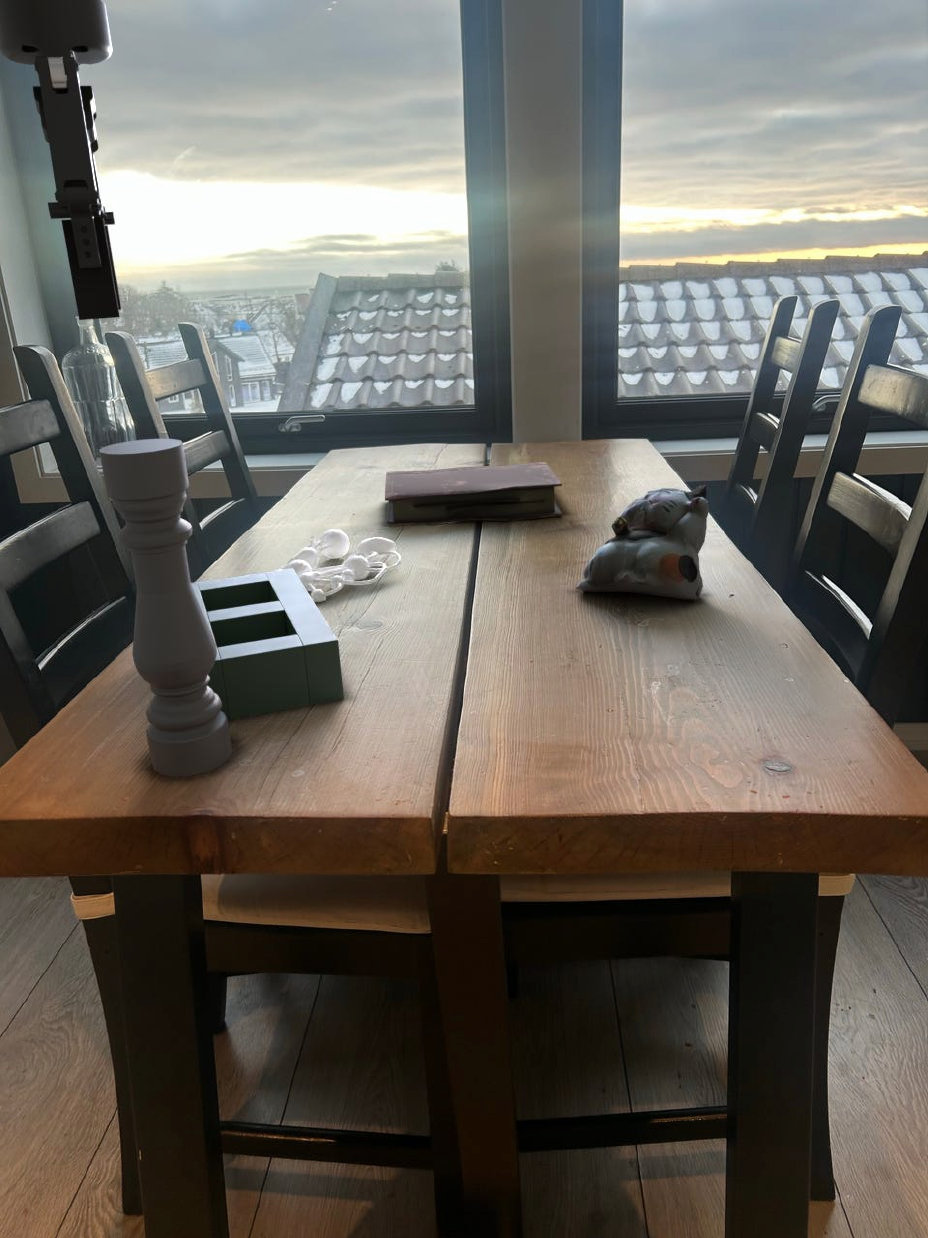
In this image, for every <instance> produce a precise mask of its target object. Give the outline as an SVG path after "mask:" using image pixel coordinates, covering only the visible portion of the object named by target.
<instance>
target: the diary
mask: <svg viewBox="0 0 928 1238" xmlns="http://www.w3.org/2000/svg"><path fill="white" fill-rule="evenodd" d="M384 484H385V486H384V501H386V502H388V503H387V517H386V518H387V519H386V524H387V525H391V526H420V525H421V526H422V525H424V526H425V525H426V526H427V525H438V524H439V525H440V524H449V523H458V522H467V521H501V522H502V521H504V522H518V521H526V520H527V521H528V520H535V519H543V518H552V517H562V516H563V513H562V511H561V510H560V507H559V506H558V505H557V503H556V501H555V500H556V499H555V487H562V486H563V484H562V483H561V481H560V479H559V477H558V476H557V475H556V473H555V471H554V470H553V469H552V468H551V467H550V466H549V465H548V463H547V462H546V461H536V462H527V463H516V464H506V465H504V464H503V465H483V466H480V465H479V466H477V465H476V466H459V467H450V468H439V469H438V468H437V469H428V470H398V471H386V474H385V483H384Z"/></svg>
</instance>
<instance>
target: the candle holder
mask: <svg viewBox="0 0 928 1238" xmlns="http://www.w3.org/2000/svg"><path fill="white" fill-rule="evenodd" d="M98 452H99V458H100V463H101V468H102V474H103V480H104V485H105V492H106V495H107V497H108V499H109V498H110V499H111V500H112V506H113V508H114V509H115V510H116V511H117V512H118V514H119V515H120V517H121V520H123V521H125V525H124V526H123V527H122V528H121V529H120V530H119V532H118V533H117V539H118V541H119V544H120V545H121V546H122V547H125V548H126V549H127V552H129V553H130V556H131V561H132V568H133V573H134V578H135V579H134V580H135V585H136V596H135V597H136V600H135V615H134V627H133V642H132V651H131V653H132V654H131V655H132V659H133V663H134V667H135V669H136V671H137V673H138V674H139V676H140V677H141V678H142V680H144V681H145V682H147V684H149V689H150V692H151V693H152V694H154V695H153V697H152V698H151V701H150V702H149V703H150V704H149V705H148V706H147V708H146V710H145V716H146V718H147V722H148V723H149V724H148V725H147V727H146V728H145V734H146V735H145V736H146V740H147V745H148V751H149V756H150V762H151V767H152V769H153V771H155V772H157V773H159V774H160V775H163V776H168V777H169V776H170V777H190V776H195V775H199V774H204V773H207V772H210V771H212V770H214V769H216V768H219V767H221V766H223V764H225V762H227V761H229V759H230V758H231V755H232V753H233V748H232V740H231V733H230V725H229V720H227V717H226V715H225V713H224V712H222V711H220V710H221V708H222V702H221V700H220V698H219V696H218V695H217V694H215V693H213V690H212V689H211V688H209V686H207V684H208V682H209V681H210V678H209V676H208V674H209V673H210V671H211V669H212V667H213V665H214V662H215V660H216V655H217V648H216V643H215V640H214V638H213V636H212V633H211V631H210V628H209V626H208V624H207V621H206V619H205V616H204V614H203V611H202V609H201V607H200V604H199V602H198V599H197V597H196V594H195V592H194V589H193V587H192V584H191V583H192V581H191V575H190V568H189V562H188V554H187V547H186V545H187V544H188V539H189V538H191V536H192V535H193V531H194V530H193V526H192V524H191V522H189V521H187V520H186V519H183V518H181V517H182V516H181V513H182V512H183V511H184V504H185V503H186V501H187V498H188V495H187V492H186V491H187V489H188V488H189V487H190V481H189V475H188V467H187V461H186V455H185V448H184V443H183V441H182V440H181V439H175V438H148V439H147V438H146V439H136V440H128V441H123V442H117V443H113V444H109V445H106V446H103V447H101V448H100V449H98Z"/></svg>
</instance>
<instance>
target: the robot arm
mask: <svg viewBox="0 0 928 1238" xmlns="http://www.w3.org/2000/svg"><path fill="white" fill-rule="evenodd" d="M107 11H108V10H107V5H106V3H105V1H103V0H0V54H1V55H2V56H3V57H4V58H5V59H7V60H9V61H11V62H14V63H18V64H22V65H29V66H32V65H33V66H34V70H35V72H36V73H37V76H38V82H39V85H33V86H32V93H33V100H34V104H35V108H36V111H37V114H39V117H40V124H41V129H42V133H43V137H44V140H45V142H46V143H48V146H49V152H50V158H51V165H52V172H53V177H54V178H53V179H54V184H55V192H54V198H55V201H52V202H51V201H49V202H48V201H47V207H48V213H49V217H50V220H58V219H59V220H60V219H61V221H60V222H61V226H62V232H63V237H64V243H65V249H66V254H67V259H68V266H69V270H70V271H69V272H70V276H71V281H72V287H73V293H74V298H75V305H76V309H77V316H78V320H79V321H86V320H87V321H89V320H98V319H101V320H102V319H113V318H115V319H116V318H120V317H121V316H120V310H122V305H121V298H120V293H119V292H120V291H119V285H118V279H117V275H116V268H115V267H116V266H115V262H114V256H113V250H112V249H113V248H112V244H111V238H110V232H109V226H112V225H116V221H115V215H114V211H106V207H105V205H103V198H102V193H101V188H100V182H99V176H98V171H97V165H96V157H95V153H96V152H98V150H99V141H98V134H97V128H96V123H95V120H96V119H97V107H96V103H95V102H96V101H95V98H94V96H95V95H94V91H93V86H92V85H81V82H80V76H79V71H80V67H79V66H80V65H95V64H99V63H103V62H105V61H107V60H108V59H110V58H111V56H112V54H113V45H112V38H111V32H110V25H109V17H108V12H107Z"/></svg>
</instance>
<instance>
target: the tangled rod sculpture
mask: <svg viewBox="0 0 928 1238" xmlns="http://www.w3.org/2000/svg"><path fill="white" fill-rule="evenodd" d="M310 539H311V540H310V543H309V545H307V546H304V547H303V548H302V549H301V550H300V551H298V553H297V554H295V555H293V556H292V557H291V558H290V559H289V560H288V561H287V563H286V564H284V565H282V566H280V567H279V568H276V570H275V571H278V570H285V569H291V568H293V570H294V571H295V573H296V574H297V576H298V578H299V579H300V581H301V582H302V584H303V585H304V587H305V589H306V590H307V592H308V593H309V592H311V593H310V597H311V598H312V600H313V601H314V603H315V604H316V603H320V602H324V601H326V598H327V597H328V596H330V595H333V594H335V593H337V592H339V591H340V590H342V589H343V588H344V586H345V585H348V586H364V585H365V586H367V585H371V584H374V583H376V582H378V581H379V580H380V579H381V578H382V576H383V575H384V573H386V572H388V571H392V570H395V569H397V568H398V567H400V566H401V564H402V562H403V559H402V555H400V553H398V552H397V551H396V549H397V544H396V542H395V541H393V540H391V539H388V538H384V537H379V536H375V537H374V536H373V537H370V538H365V539H363V540H362V541H360V542H359V544H358V545H357V546H356V549H355V550H353V552H351V553H350V554H349V555H348V556H347V557H346V558H345V559H344V560H343V562H342V563H341V564H338V565H332V566H324V567H318V566H319V564H320V562H321V561H320V560H321V557H320V553H322V554H323V555H324V556H325V557H326V558H329V559H332V560H336V559H341V558H342V557H344V556H345V555H347V553H348V551H349V550H350V539H349V537H348V535H347V533H345V532H344V531H343V530H341V529H337V528H331V529H328V530H326V531H324V532H323V534H322V536H321V537H320V539H319V540H318V541H316V540H317V536H316V535H312V536H311V537H310ZM317 548H319V549H318V550H317ZM386 556H395V557H396V558H397V562H396V563H394V564H393V565H390V566H387V564H386V563H384V562H382V561H381V560H382V559H383V558H385V557H386ZM317 567H318V568H317ZM373 567H374V568H373ZM375 567H379V568H375ZM370 573H377V574H376V576H375V577H373V578H372V579H369V580H365V579H366V578H367V577H368V576H369V574H370ZM338 574H340V575H338ZM328 577H331V578H329V579H327V578H328ZM325 578H326V579H325ZM317 585H327V586H329V587H330V588H331V590H329V591H326V592H325V591H323V590H322V589H320V588H318V589H316V586H317Z"/></svg>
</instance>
